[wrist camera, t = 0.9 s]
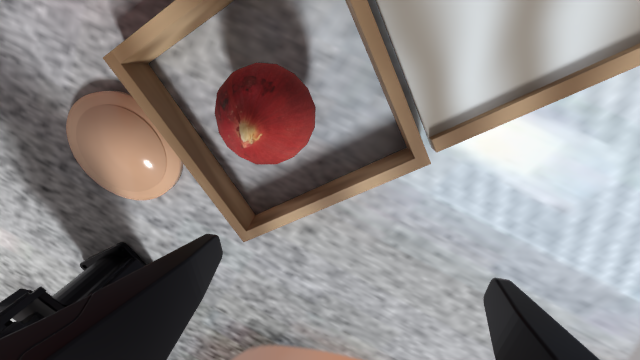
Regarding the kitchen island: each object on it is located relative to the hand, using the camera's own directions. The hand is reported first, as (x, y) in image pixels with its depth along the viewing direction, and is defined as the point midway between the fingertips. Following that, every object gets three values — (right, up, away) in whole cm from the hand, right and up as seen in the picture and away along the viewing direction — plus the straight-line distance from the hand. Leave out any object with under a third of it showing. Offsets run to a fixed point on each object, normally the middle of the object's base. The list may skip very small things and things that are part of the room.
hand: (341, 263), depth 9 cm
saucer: (-17, +5, +13) cm, 22 cm away
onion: (-4, +8, +11) cm, 14 cm away
